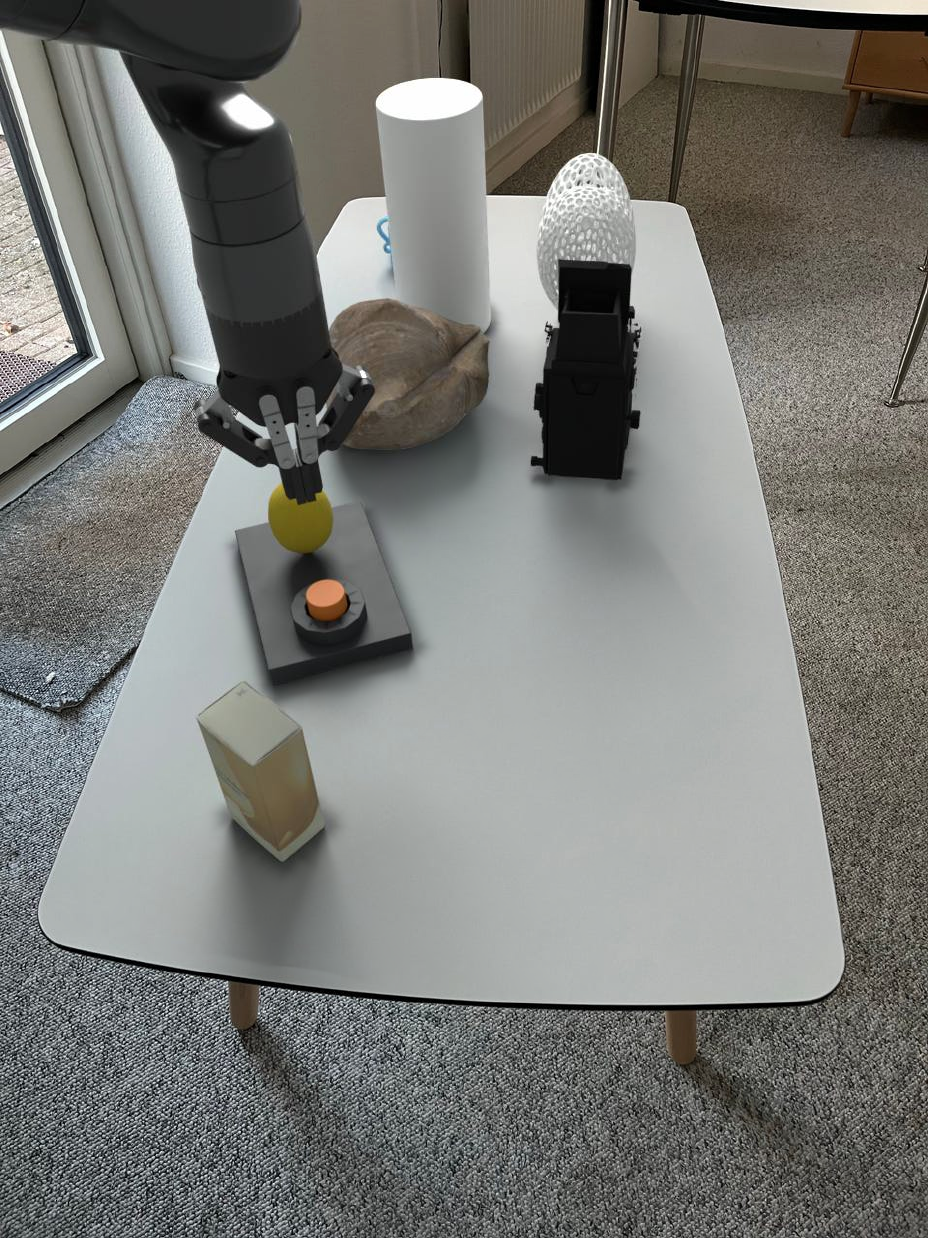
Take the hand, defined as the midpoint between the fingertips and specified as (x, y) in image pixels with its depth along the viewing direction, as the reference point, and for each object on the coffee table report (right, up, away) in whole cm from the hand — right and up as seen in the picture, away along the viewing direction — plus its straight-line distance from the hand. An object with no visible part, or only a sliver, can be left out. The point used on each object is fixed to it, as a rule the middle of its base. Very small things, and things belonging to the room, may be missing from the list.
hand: (305, 496), depth 80 cm
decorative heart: (+26, +25, +43) cm, 56 cm away
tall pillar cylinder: (+10, +25, +44) cm, 52 cm away
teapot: (+8, +35, +54) cm, 65 cm away
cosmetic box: (-2, -24, -1) cm, 24 cm away
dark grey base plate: (-1, -7, +14) cm, 16 cm away
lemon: (-2, -3, +16) cm, 16 cm away
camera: (+24, +9, +28) cm, 38 cm away
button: (+1, -8, +9) cm, 12 cm away
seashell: (+6, +11, +32) cm, 34 cm away
